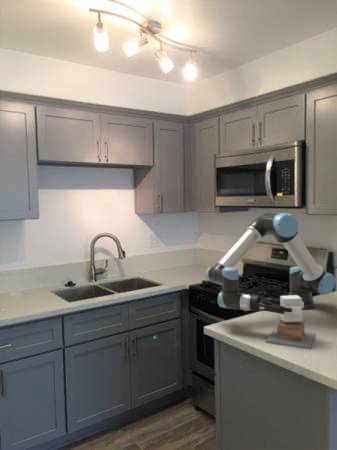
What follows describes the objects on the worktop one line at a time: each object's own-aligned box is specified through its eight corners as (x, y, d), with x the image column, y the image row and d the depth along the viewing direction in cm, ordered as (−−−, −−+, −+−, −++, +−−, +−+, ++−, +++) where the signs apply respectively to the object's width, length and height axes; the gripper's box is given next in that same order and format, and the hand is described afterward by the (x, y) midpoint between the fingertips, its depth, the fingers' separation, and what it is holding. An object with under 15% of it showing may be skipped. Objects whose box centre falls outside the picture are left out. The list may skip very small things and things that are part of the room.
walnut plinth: (281, 331, 175) (281, 318, 175) (304, 334, 171) (304, 321, 170) (277, 338, 167) (277, 325, 166) (301, 341, 162) (301, 328, 162)
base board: (275, 329, 181) (275, 327, 181) (315, 334, 173) (315, 332, 172) (266, 342, 165) (266, 340, 165) (309, 348, 157) (309, 346, 157)
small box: (297, 317, 171) (297, 294, 170) (302, 321, 166) (302, 298, 165) (280, 318, 171) (279, 295, 170) (284, 322, 165) (284, 298, 165)
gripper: (256, 304, 186) (305, 309, 175) (244, 317, 167) (298, 323, 156) (256, 289, 185) (305, 293, 175) (244, 300, 166) (298, 305, 156)
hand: (301, 307), depth 166 cm, fingers closed on small box, 8 cm apart
